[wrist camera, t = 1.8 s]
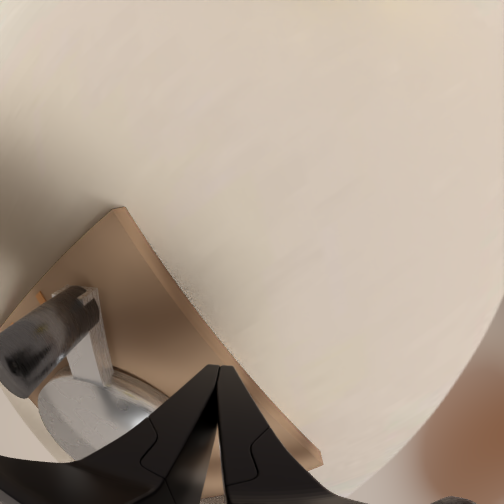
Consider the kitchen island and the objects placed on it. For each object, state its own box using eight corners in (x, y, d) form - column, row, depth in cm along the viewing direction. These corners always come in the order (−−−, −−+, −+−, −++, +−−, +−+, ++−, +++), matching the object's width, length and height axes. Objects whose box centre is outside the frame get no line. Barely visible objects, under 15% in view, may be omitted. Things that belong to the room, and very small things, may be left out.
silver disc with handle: (211, 484, 16) (204, 550, 10) (80, 454, 16) (54, 505, 9) (195, 290, 12) (148, 385, 6) (12, 272, 12) (-64, 311, 6)
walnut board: (320, 451, 17) (323, 465, 16) (158, 492, 20) (156, 503, 18) (125, 206, 13) (111, 209, 12) (-1, 336, 15) (-12, 343, 14)
